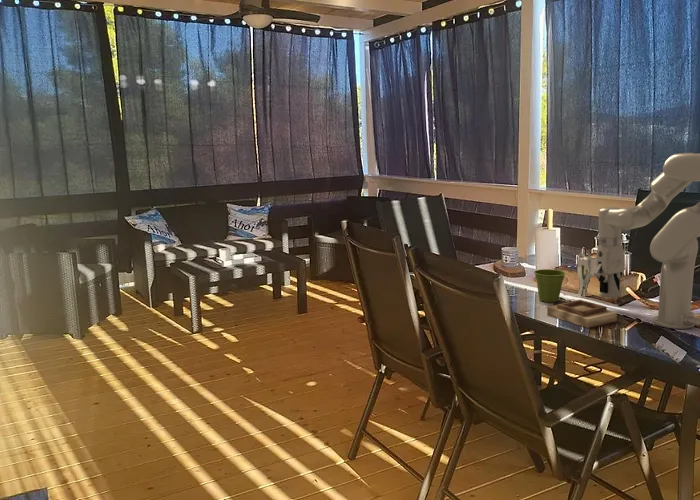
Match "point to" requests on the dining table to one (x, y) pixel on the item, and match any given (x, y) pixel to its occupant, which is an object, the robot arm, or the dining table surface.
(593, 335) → the dining table surface
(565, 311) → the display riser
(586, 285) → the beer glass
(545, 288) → the plant pot
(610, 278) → the flask
